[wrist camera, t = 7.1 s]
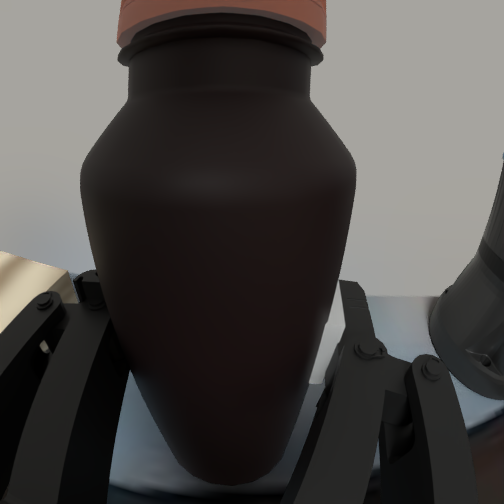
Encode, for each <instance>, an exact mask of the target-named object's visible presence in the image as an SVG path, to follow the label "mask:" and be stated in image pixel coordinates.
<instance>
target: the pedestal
mask: <svg viewBox="0 0 504 504" xmlns="http://www.w3.org/2000/svg"><path fill="white" fill-rule="evenodd" d="M47 291H55V292H57V293H59V294H60V297H61V299H62V302H63V303H78V301H77V298H76V295H75V292H74V289H73V286H72V283H71V279H70V276H69V273H68V270H63V269H60V268H56V267H53V266H49V265H45V264H42V263H39V262H35V261H32V260H28V259H25V258H22V257H18V256H15V255H11V254H9V253H6V252H2V251H0V333H1V332H2V331H3V330H4V329H5V328H6V327H7V326H8V325H9V323H10V322H11V321H12V320H13V319H14V318H15V317H16V316H17V315H18V314H19V313H20V312H21V311H22V310H23V309H24V308H25V306H26V305H27V304H28V303H29V302H30V301H31V300H32V299H33V298H35V297H36V296H37V295H39V294H41V293H43V292H47ZM40 347H41V349H42V350H43V351H46V350H47V349H48V346H47V344H46V342H45V341H43V342H42V343H41V344H40Z"/></svg>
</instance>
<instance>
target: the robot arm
mask: <svg viewBox="0 0 504 504" xmlns="http://www.w3.org/2000/svg"><path fill="white" fill-rule="evenodd" d="M503 160H504V153H503ZM73 282H74V285H75V288H76V291H77V294H78V297H79V300H80V302H79V303H63V302H62V299H61V297H60V294H59V293H57V292H55V291H47V292H43V293H41V294H39V295H37V296H36V297H35V298H33V299H32V300H31V301H30V302H29V303H28V304H27V305H26V306H25V308H24V309H23V310H22V311H21V312H20V313H19V314H18V315H17V316H16V317H15V318H14V319H13V320H12V321H11V322H10V323H9V325H8V326H7V327H6V328H5V329H4V330H3V331H2V332H1V333H0V504H106V503H107V493H108V485H109V477H110V469H111V462H112V456H113V450H114V444H115V438H116V432H117V427H118V422H119V417H120V412H121V407H122V402H123V398H124V393H125V389H126V384H127V380H128V376H129V372H130V367H129V365H128V363H127V360H126V358H125V355H124V353H123V350H122V348H121V345H120V342H119V340H118V337H117V334H116V331H115V329H114V326H113V323H112V320H111V317H110V314H109V311H108V308H107V305H106V302H105V298H104V295H103V292H102V288H101V285H100V281H99V278H98V274H97V270H90V271H86V272H84V273H82V274H80V275H78V276H77V277H76V278H75V279H74V280H73ZM366 301H367V300H366V296H365V293H364V290H363V289H362V288H361V287H360V285H359V284H358V283H357V282H352V281H345V280H338V283H337V287H336V291H335V295H334V299H333V303H332V307H331V311H330V315H329V319H328V322H327V323H326V324H325V328H324V332H323V335H322V339H321V343H320V346H319V350H318V353H317V357H316V360H315V364H314V367H313V370H312V374H311V377H310V380H309V383H310V384H322V382H323V380H324V377H325V389H324V391H323V393H322V395H321V397H320V399H319V401H318V403H317V405H316V407H317V410H316V413H315V416H314V419H313V422H312V425H311V428H310V431H309V433H308V436H307V439H306V442H305V444H304V447H303V450H302V452H301V455H300V457H299V460H298V462H297V465H296V467H295V470H294V472H293V474H292V477H291V479H290V482H289V484H288V486H287V488H286V491H285V493H284V495H283V497H282V499H281V502H280V504H363V501H364V498H365V494H366V491H367V487H368V483H369V479H370V475H371V471H372V467H373V462H374V457H375V453H376V448H377V442H378V439H379V453H380V474H381V504H478V494H477V485H476V478H475V471H474V465H473V460H472V454H471V449H470V444H469V440H468V435H467V431H466V427H465V423H464V419H463V416H462V412H461V408H460V405H459V401H458V398H457V395H456V391H455V388H454V385H453V382H452V379H451V376H450V373H449V370H450V371H451V372H452V373H453V375H454V376H455V377H456V378H457V379H459V380H460V381H461V382H462V383H463V384H464V385H466V386H467V387H468V388H470V389H471V390H473V391H474V392H476V393H478V394H480V395H482V396H485V397H487V398H491V399H495V400H504V163H503V168H502V172H501V176H500V181H499V185H498V189H497V193H496V197H495V200H494V204H493V207H492V211H491V214H490V217H489V220H488V223H487V226H486V229H485V231H484V235H483V237H482V240H481V243H480V245H479V248H478V250H477V253H476V255H475V257H474V258H473V259H472V261H471V262H470V263H469V264H468V265H467V267H466V268H465V269H464V270H463V272H462V273H461V274H460V275H459V277H458V278H457V280H456V281H455V283H454V284H453V285H451V286H449V287H448V288H447V289H446V290H445V291H444V292H443V293H442V295H441V296H440V298H439V299H438V301H437V304H436V305H435V307H434V309H433V311H432V314H431V316H430V322H429V328H430V334H431V338H432V341H433V344H434V346H435V349H436V351H437V353H438V354H439V356H440V358H441V359H442V361H443V362H444V363H443V362H442V361H441V360H440V359H439V358H437V357H435V356H433V355H428V354H424V355H419V356H418V357H417V358H415V359H414V361H413V362H412V363H410V362H407V361H404V360H401V359H397V358H395V357H393V356H390V355H389V354H388V353H387V349H386V347H385V346H384V344H383V343H382V342H381V341H379V340H378V339H377V338H376V337H375V333H374V328H373V324H372V320H371V316H370V311H369V310H368V308H369V307H368V304H367V302H366ZM43 341H45V342H46V344H47V346H48V349H47V350H46V351H43V350H42V349H41V347H40V344H41V343H42V342H43ZM446 366H447V367H446ZM447 368H448V369H449V370H448V369H447ZM9 482H10V483H9ZM8 484H9V488H8V493H7V496H6V497H5V499H4V500H1V499H2V497H3V495H4V493H5V490H6V488H7V486H8Z"/></svg>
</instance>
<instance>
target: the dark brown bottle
mask: <svg viewBox="0 0 504 504" xmlns="http://www.w3.org/2000/svg"><path fill="white" fill-rule="evenodd" d="M325 43H326V0H122V1H121V8H120V15H119V23H118V32H117V44H118V45H119V46H120V47H121V48H122V49H121V51H120V53H119V54H118V61H119V62H120V63H121V64H122V65H123V66H128V67H129V82H128V100H127V102H126V104H125V105H124V106H123V107H122V109H121V110H120V111H119V112H118V114H117V115H116V116H115V117H114V119H113V120H112V121H111V123H110V124H109V125H108V127H107V128H106V129H105V131H104V132H103V133H102V135H101V136H100V137H99V139H98V140H97V142H96V143H95V145H94V146H93V147H92V149H91V151H90V152H89V153H88V155H87V156H86V158H85V160H84V162H83V165H82V169H81V175H80V191H81V198H82V205H83V211H84V216H85V222H86V227H87V232H88V236H89V241H90V246H91V250H92V254H93V258H94V262H95V266H96V270H97V274H98V278H99V281H100V285H101V288H102V292H103V295H104V298H105V302H106V305H107V308H108V311H109V314H110V317H111V320H112V323H113V326H114V329H115V331H116V334H117V337H118V340H119V342H120V345H121V348H122V350H123V353H124V355H125V358H126V360H127V363H128V365H129V367H130V370H131V372H132V374H133V377H134V379H135V381H136V384H137V386H138V388H139V390H140V392H141V394H142V397H143V399H144V401H145V403H146V405H147V407H148V409H149V411H150V413H151V415H152V417H153V419H154V421H155V422H156V424H157V426H158V428H159V430H160V432H161V434H162V435H163V437H164V439H165V441H166V442H167V444H168V446H169V448H170V449H171V451H172V453H173V454H174V456H175V458H176V459H177V461H178V463H179V464H180V465H181V466H182V467H184V468H185V469H186V470H187V471H188V472H189V473H190V474H192V475H193V476H195V477H197V478H199V479H202V480H204V481H207V482H209V483H212V484H220V485H230V486H233V485H238V484H244V483H249V482H253V481H255V480H256V479H258V478H260V477H262V476H264V475H266V474H267V473H269V472H270V471H271V470H272V469H273V468H274V467H275V466H276V464H277V463H278V462H279V461H280V460H281V458H282V456H283V453H284V451H285V448H286V446H287V443H288V441H289V438H290V436H291V433H292V431H293V428H294V425H295V423H296V420H297V417H298V415H299V412H300V409H301V406H302V403H303V400H304V398H305V395H306V392H307V389H308V386H309V380H310V377H311V374H312V370H313V367H314V364H315V360H316V357H317V353H318V350H319V346H320V343H321V339H322V335H323V332H324V328H325V324H326V323H327V322H328V319H329V315H330V311H331V307H332V303H333V299H334V295H335V291H336V287H337V283H338V278H339V274H340V269H341V265H342V260H343V255H344V251H345V246H346V240H347V235H348V230H349V224H350V219H351V214H352V208H353V202H354V196H355V189H356V166H355V162H354V160H353V158H352V156H351V154H350V152H349V151H348V149H347V148H346V147H345V145H344V144H343V142H342V141H341V140H340V138H339V137H338V135H337V134H336V133H335V131H334V130H333V129H332V127H331V126H330V125H329V123H328V122H327V121H326V119H325V118H324V117H323V116H322V114H321V113H320V112H319V111H318V109H317V108H316V107H315V105H314V104H313V103H312V102H311V100H310V75H311V66H315V65H318V64H319V63H320V62H322V61H323V54H322V52H321V50H320V48H321V47H322V46H323V45H324V44H325Z"/></svg>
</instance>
